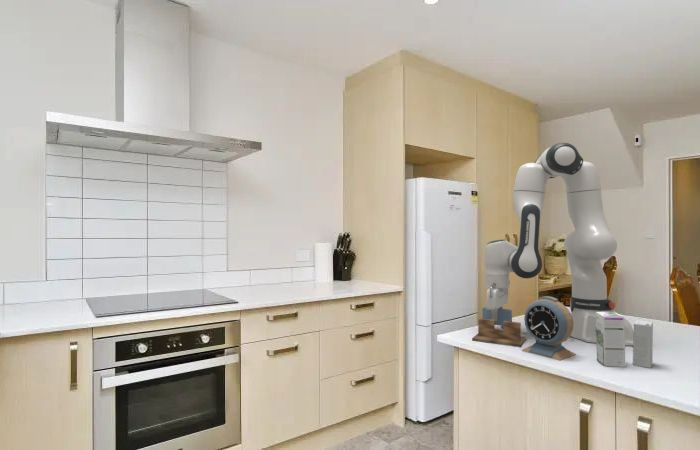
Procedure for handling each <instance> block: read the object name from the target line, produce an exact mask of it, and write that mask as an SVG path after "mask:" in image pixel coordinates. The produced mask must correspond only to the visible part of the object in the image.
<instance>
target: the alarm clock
mask: <svg viewBox="0 0 700 450" xmlns="http://www.w3.org/2000/svg"><path fill="white" fill-rule="evenodd" d="M523 320H524V325H525V328H526V330H527V332H528V333H529V335H530V336H531V337H532V338H533V339H534V340H535V342H534V343H533V344H532V345H529V346H527V347H526V348H524V349H521V351H522V352H524V353H529V354H533V355H536V356H539V357H540V356H541V357H545V358H548V359H553V360H556V361H562V360H566V359H568V358H571V357H573V356H576V355H577V354H576V353H575V352H573V351H571V350H569V349H567V348H566V347H564V345H562V343H564V342H566V341H567V340H568V339H569V338H570V337H571V336H570V335H571V333H572V330H573V325H574V324H573V318H572V315H571V310H569V309H568V307H567V306H565V305H564V304H563V303H562V302H560V301H559V299H558V298H556V297H553V296H550V295H549V296H548V295H546V296H545V295H544V296H540V297H538V299H536V300H534V301H533V302H531V303H530V304H529V305H528V306H527V308H526V310H525V313H524V319H523Z"/></svg>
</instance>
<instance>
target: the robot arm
mask: <svg viewBox="0 0 700 450" xmlns="http://www.w3.org/2000/svg"><path fill="white" fill-rule="evenodd" d="M557 177H561V178H562V179H563V181H564V183H565V189H566V191H565V192H566V201H567V212H568V216H569V218H570V219H571V221H572V224H573V227H574V230H573V231H572V232H570V233H568V235H566V237H565V238H564V242H563V247H564V249H565V251H566V253H567V259H568V264H569V268H570V275H571V296H570V300H569V303H570V304H569V305H570V307H569V308H570V313H571V315H572V318H573V324H574V325H573V330H572V333H571V335H570V337H571V338H575V339H578V340H582V341H583V342H586V343H594V344H596V312H615V313H618V312H617V311H616V310H614V309H615V308H616V303H615V302H614V301H612V300H611V299H609V298H608V289H607V288H608V287H607V286H608V284H607V283H608V281H607V280H608V279H607V275H606V273H605V272H604V269H603V265H602V261H604V260H606V259H609V258H611V257H612V256H614V255H615V253H616V251H617V248H618V242H617V240H616V238H615V237H614V235H613V234H612V232H611V230H610V228H609V224H608V222H607V219H606V216H605V213H604V205H603V196H602V190H601V189H602V188H601V181H600V176H599V173H598V170H597V167H596V165H595V164H593V163H592V162H590V161H584V159H583V157H582V155H581V154H580V152H579V151H578V149H577V148H576V147H575V146H574V145H573V144H572V143H571V144H570V143H569V142H558V143H555V144H553V145H552V146H550V147H548V148H546V149H545V150H543V152H542V153H541V154H540V155H539V156H538V157H537V159H536V160H535V161H534V162H527V163H524V164H522V165H521V166H519V168H518V170H517V173H516V176H515V181H514V185H513V191H512V207H513V211H514V212H515V214H516V215H517V217H518V220H519V234H518V235H519V236H518V245H515V244H513V243H512V242H510V241H508V240H507V239H495V240H491V241H489V242H487V244H486V245H485V248H484V266H485V271H484V287H486V288H487V290H486V294H485V295H486V298H485V307H486V309H487V310H491V314H492V320H495V321H497V320H498V316H497V312H498V309H504V307H503V306H504V305H506V304H507V303H508V297H509V288H510V284H511V283H510V282H511V281H510V273H514V274H515V275H516V276H518V277H519V278H521V279H531V278H536V277H537V276H538V275H539V274H540V273H541V271H542V268H543V259H542V256H541V254H540V250H539V236H540V223H541V222H540V221H541V216H542V212H543V208H544V202H545V199H546V190H547V189H546V188H547V187H546V186H547V184H548V181H549V179H554V178H557ZM624 330H625V346H632V347H633V333H634V327H633V325H632V324H631V322H630V321H629V320H628V319H626V318H625V317H624Z"/></svg>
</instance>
